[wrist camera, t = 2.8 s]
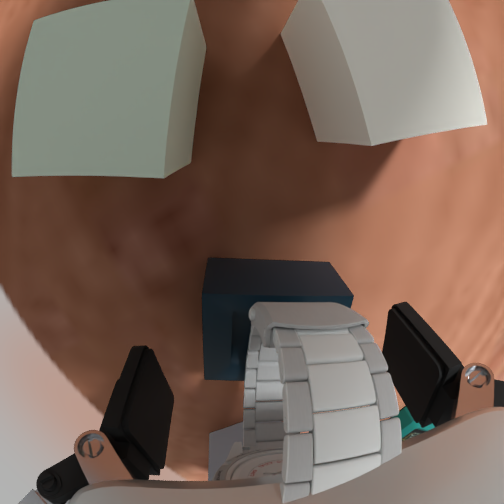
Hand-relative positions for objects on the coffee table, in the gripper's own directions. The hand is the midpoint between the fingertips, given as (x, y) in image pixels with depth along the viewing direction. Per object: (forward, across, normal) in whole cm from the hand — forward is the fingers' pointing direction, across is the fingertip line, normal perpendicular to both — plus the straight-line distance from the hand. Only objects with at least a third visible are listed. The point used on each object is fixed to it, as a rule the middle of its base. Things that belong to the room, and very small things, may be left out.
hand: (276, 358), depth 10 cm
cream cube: (+4, -5, -10) cm, 12 cm away
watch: (+4, 0, 0) cm, 4 cm away
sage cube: (+4, +4, -10) cm, 12 cm away
